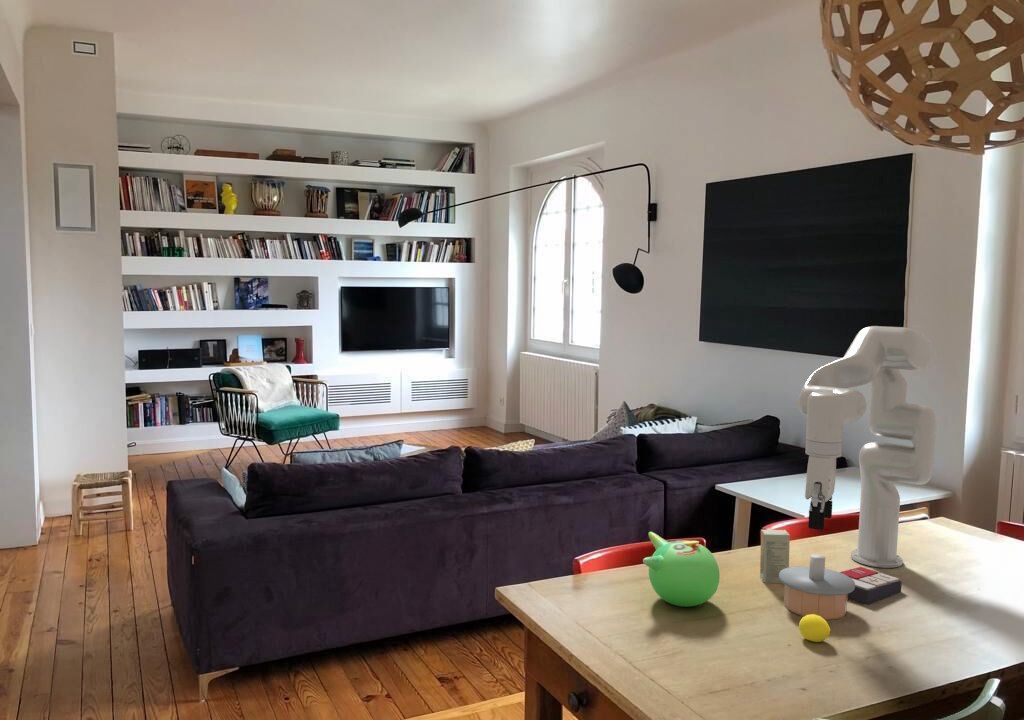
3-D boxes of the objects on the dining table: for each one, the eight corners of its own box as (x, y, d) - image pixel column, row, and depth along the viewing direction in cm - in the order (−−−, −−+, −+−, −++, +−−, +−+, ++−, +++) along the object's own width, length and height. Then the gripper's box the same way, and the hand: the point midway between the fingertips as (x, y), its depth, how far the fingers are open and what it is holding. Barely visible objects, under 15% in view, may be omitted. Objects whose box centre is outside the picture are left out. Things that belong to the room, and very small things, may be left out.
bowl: (791, 593, 195) (792, 568, 194) (850, 604, 188) (851, 579, 188) (778, 611, 184) (780, 585, 183) (841, 624, 177) (842, 597, 177)
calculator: (902, 578, 197) (868, 587, 188) (901, 595, 197) (866, 606, 188) (860, 564, 206) (825, 573, 197) (858, 581, 206) (823, 591, 197)
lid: (786, 565, 196) (787, 541, 196) (859, 578, 189) (860, 553, 188) (772, 586, 183) (773, 560, 182) (849, 600, 175) (851, 574, 174)
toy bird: (720, 621, 178) (722, 555, 176) (640, 613, 181) (642, 548, 180) (716, 591, 195) (719, 530, 194) (644, 584, 199) (646, 525, 197)
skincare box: (784, 577, 205) (787, 529, 204) (788, 584, 201) (791, 534, 200) (758, 576, 206) (760, 528, 205) (761, 582, 201) (764, 533, 200)
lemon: (792, 640, 170) (791, 614, 170) (808, 634, 173) (806, 608, 173) (823, 648, 164) (821, 621, 164) (838, 642, 168) (836, 615, 168)
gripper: (813, 439, 192) (809, 510, 194) (798, 453, 177) (794, 530, 179) (847, 442, 188) (844, 515, 190) (835, 457, 173) (831, 536, 175)
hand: (820, 523), depth 185 cm, fingers open, 9 cm apart
